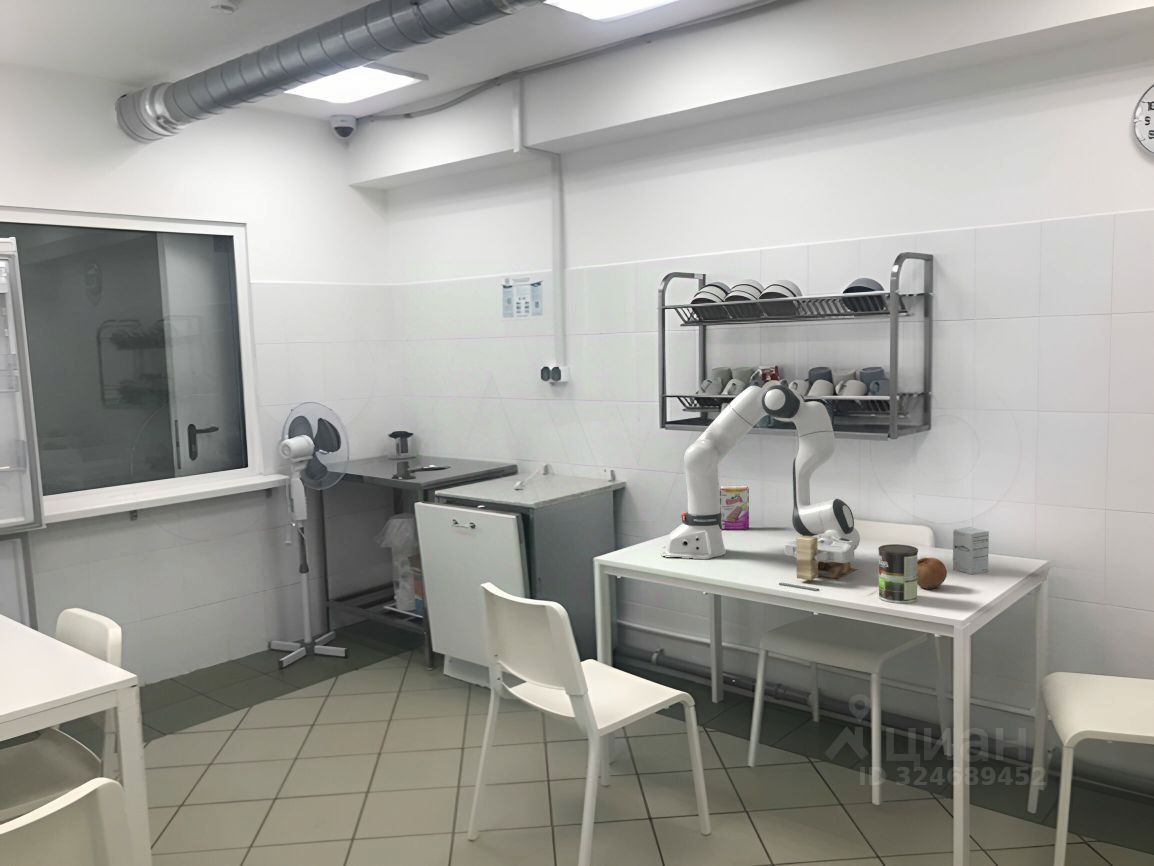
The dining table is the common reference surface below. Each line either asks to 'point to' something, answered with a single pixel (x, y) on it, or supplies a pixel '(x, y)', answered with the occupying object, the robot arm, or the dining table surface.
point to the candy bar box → (734, 507)
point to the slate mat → (799, 586)
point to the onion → (930, 573)
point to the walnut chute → (834, 570)
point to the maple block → (806, 557)
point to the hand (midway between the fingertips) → (805, 556)
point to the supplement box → (970, 550)
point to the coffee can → (898, 573)
